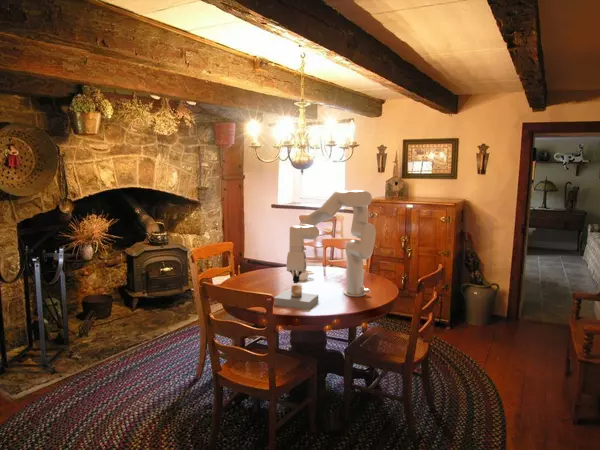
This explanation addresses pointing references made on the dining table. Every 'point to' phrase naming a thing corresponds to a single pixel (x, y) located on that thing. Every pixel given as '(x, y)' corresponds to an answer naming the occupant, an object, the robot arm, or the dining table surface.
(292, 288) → the maple peg
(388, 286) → the dining table surface
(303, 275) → the mug
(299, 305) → the grey block with hole
